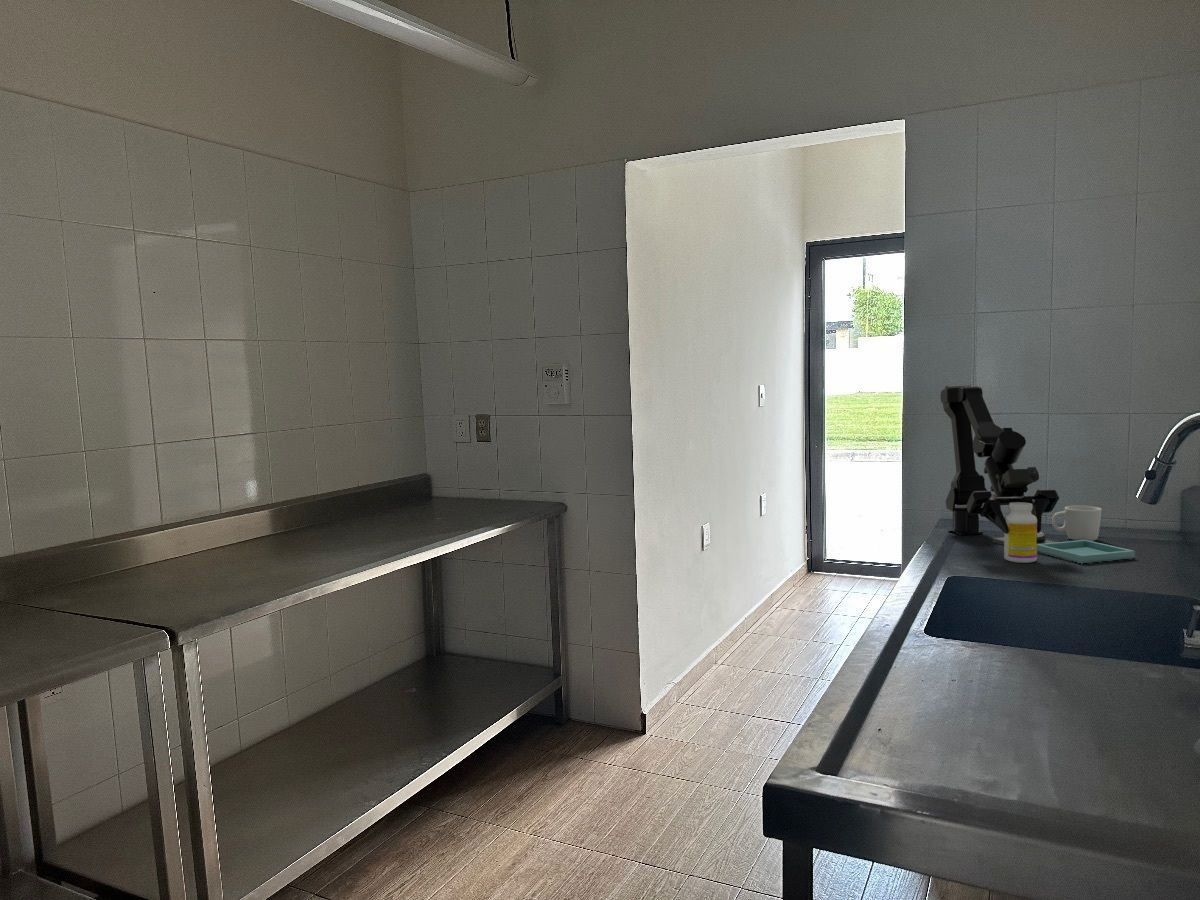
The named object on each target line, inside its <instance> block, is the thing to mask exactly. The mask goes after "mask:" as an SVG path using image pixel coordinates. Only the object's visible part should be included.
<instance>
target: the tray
mask: <svg viewBox="0 0 1200 900" xmlns="http://www.w3.org/2000/svg"><path fill="white" fill-rule="evenodd" d="M1054 542H1055V543H1044V544H1037V554H1041V555H1045V556H1048V555H1050V556H1049V557H1052V556H1054V557H1053V558H1056V557H1057V558H1056V559H1060V558H1061V559H1060V560H1064V561H1068V562H1072V561H1073V562H1072V563H1075V562H1077V563H1076V564H1079V563H1081V565H1084V564H1083V563H1089V564H1092V563H1091V562H1099V563H1101V562H1100V561H1109V560H1117V559H1129V560H1132V559H1131V558H1136V550H1132V549H1129V548H1123V547H1120V546H1115V545H1110V544H1106V543H1103V542H1102V543H1100V542H1096V541H1088V540H1066V541H1054ZM1109 562H1110V561H1109Z"/></svg>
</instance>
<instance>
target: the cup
mask: <svg viewBox="0 0 1200 900" xmlns="http://www.w3.org/2000/svg"><path fill="white" fill-rule="evenodd" d="M1102 511H1103V509H1102V508H1101V507H1097V506H1092V505H1067V506H1065V507H1064V510H1063V511H1058V512H1055V513H1054V514H1053V515H1052V518H1051V524H1052V526H1053V528H1054V529H1055V530H1057V531H1060V532H1066V535H1067V537H1068V539H1070V540H1071V541H1076V540H1088V541H1093V542H1095V541H1096V540H1097V539H1098V538H1099V533H1100V526H1101V517H1102V513H1103V512H1102ZM1059 517H1062V518H1063V519H1064V520H1063V521H1064V524H1063V525H1062V526H1058V524H1057V518H1059Z"/></svg>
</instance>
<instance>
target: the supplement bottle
mask: <svg viewBox="0 0 1200 900" xmlns="http://www.w3.org/2000/svg"><path fill="white" fill-rule="evenodd" d="M1008 509H1009V513H1007V514H1006V515H1005V516H1004V518H1005V521H1006V523H1007V526H1008V530H1009V532H1008V534H1005V533H1004V532H1003V537H1004V545H1003V558H1004V559H1005V560H1006V561H1009V562H1011V563H1018V564H1019V563H1020V564H1023V563H1024V564H1026V563H1028V564H1029V563H1033V562H1036V561H1037V559H1038V553H1037V518H1036V517H1035V516H1034V515H1032V514H1031V511H1032V504H1031V503H1025V502H1012V503H1009V506H1008Z"/></svg>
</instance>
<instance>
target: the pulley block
mask: <svg viewBox="0 0 1200 900" xmlns="http://www.w3.org/2000/svg"><path fill="white" fill-rule="evenodd" d="M1055 542H1056V541H1053V540H1049V539H1047V537H1046V534H1045V533H1044V532H1042V531H1040V533H1037V544H1044V543H1055ZM992 543H995V544H999V545H1002V546H1004V536H1002V537H994V538H992Z"/></svg>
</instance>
